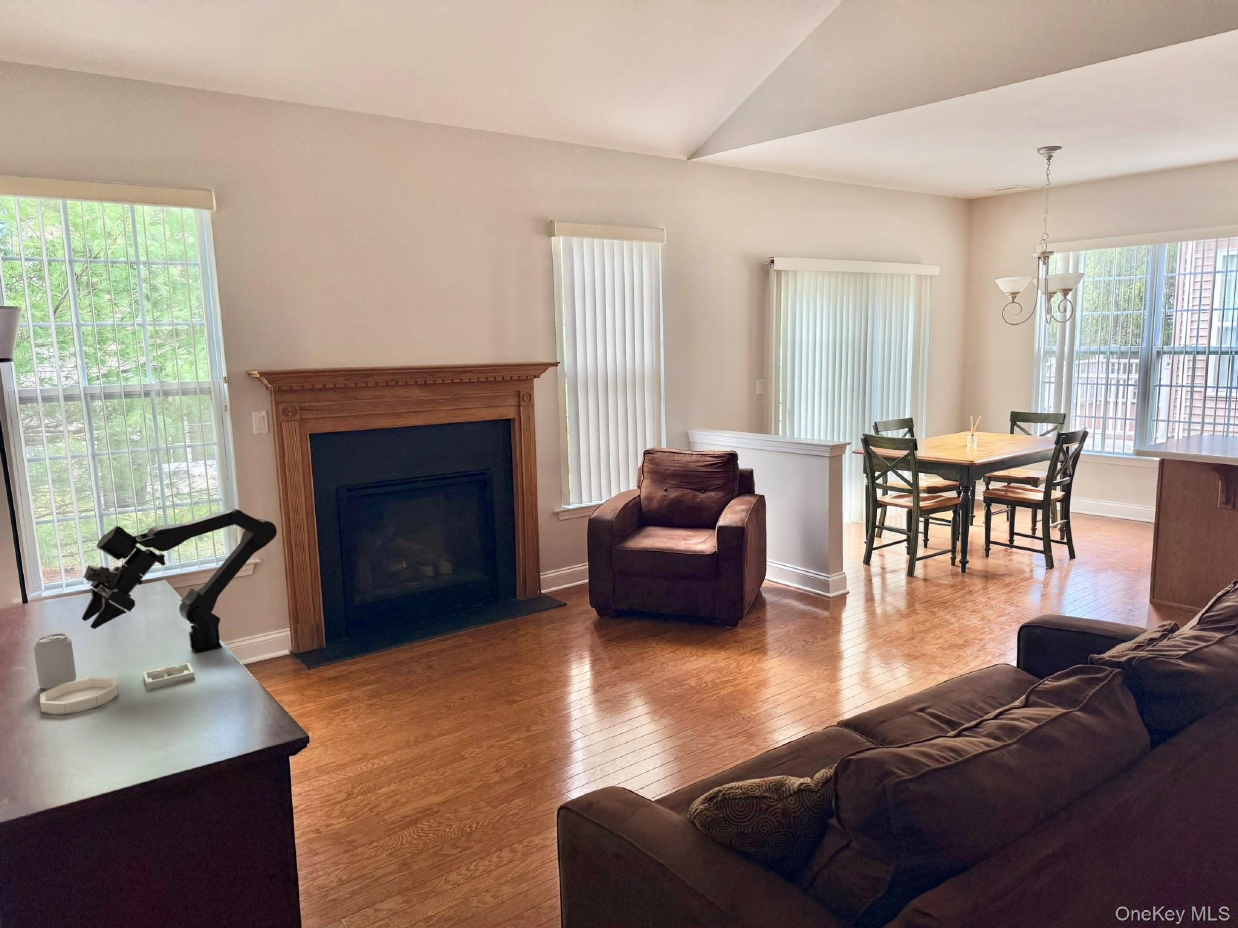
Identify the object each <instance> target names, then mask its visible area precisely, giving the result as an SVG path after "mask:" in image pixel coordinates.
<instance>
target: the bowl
mask: <svg viewBox="0 0 1238 928" xmlns="http://www.w3.org/2000/svg"><path fill="white" fill-rule="evenodd" d="M117 695H119V687H118V683H117V679H116V677H110V676H109V677H108V676H107V677H106V676H105V677H104V676H91V677H86V678H81V679H77V680H76V679H75V680H74V681H71V682H67V683H63V684H60V685H58V686H56V687H54V688H52V689H50V690H45V691H44V692H41V693H40V694H39V705H40V711H41V712H43V713H45V714H47V715H48V714H49V715H58V716H59V715H70V714H75V713H81V712H85V711H88V710H93V709H95V708H98V707H101V706H103V705H105V704H107V703H110V702H111V701H112V700H114V699H115V698H116V697H117Z"/></svg>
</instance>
